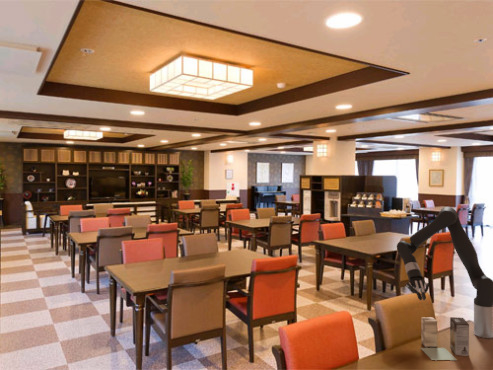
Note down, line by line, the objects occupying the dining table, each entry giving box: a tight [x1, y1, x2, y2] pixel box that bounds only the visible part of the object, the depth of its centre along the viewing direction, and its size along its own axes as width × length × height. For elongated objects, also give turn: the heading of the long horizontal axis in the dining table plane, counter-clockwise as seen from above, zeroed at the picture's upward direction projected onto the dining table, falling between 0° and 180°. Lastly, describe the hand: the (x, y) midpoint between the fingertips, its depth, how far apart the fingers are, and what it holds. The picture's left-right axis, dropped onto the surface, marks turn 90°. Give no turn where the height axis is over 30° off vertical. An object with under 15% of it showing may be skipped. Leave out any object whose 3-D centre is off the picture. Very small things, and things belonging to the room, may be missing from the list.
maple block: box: [420, 316, 438, 348], centre depth 199 cm, size 5×6×14 cm
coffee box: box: [449, 316, 470, 357], centre depth 191 cm, size 9×6×16 cm
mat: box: [420, 347, 458, 362], centre depth 189 cm, size 13×12×1 cm
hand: (422, 299), depth 206 cm, fingers closed
